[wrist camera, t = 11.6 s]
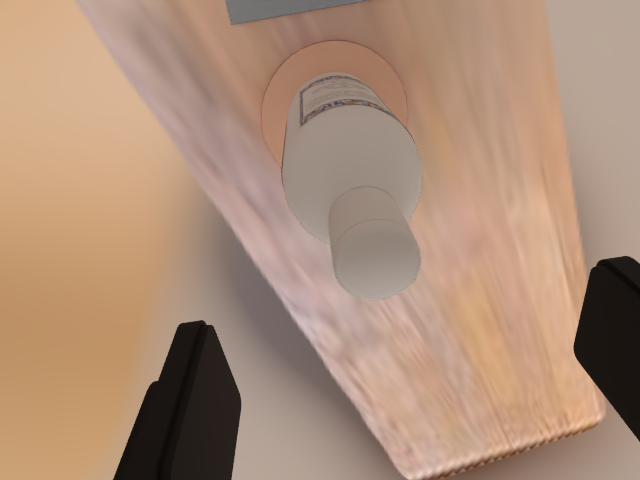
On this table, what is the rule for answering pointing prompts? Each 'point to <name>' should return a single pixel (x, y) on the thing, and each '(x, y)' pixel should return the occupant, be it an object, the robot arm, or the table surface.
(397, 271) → the bath foam
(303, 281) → the table surface
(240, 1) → the tile
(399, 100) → the flat salmon disc
